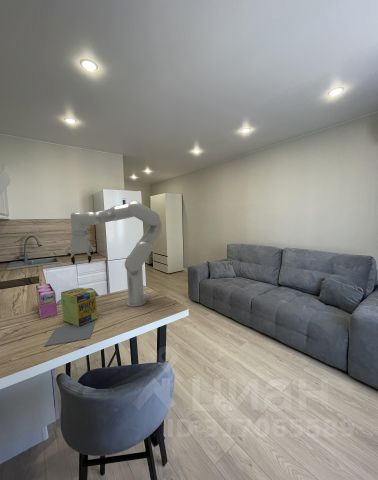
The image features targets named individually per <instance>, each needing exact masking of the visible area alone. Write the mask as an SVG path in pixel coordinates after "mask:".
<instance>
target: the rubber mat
mask: <svg viewBox="0 0 378 480" xmlns="http://www.w3.org/2000/svg"><path fill="white" fill-rule="evenodd" d="M95 323H96V321H91V322H88V323H86V324H84V325H81V326H76V325H74V324H71V325H70V324H69V325H65V326H59V327H58V326H57V327H55V328H54V330H53V332H52V333H51V335H50V336H49V337H48V339H47V341H46V343H45V344H44V346H43V347H44V348H46V347H52V346H57V345H61V344H69V343H73V342H80V341H83V340H84V341H85V340H89V339H91V337H92V334H93V332H94V326H95Z"/></svg>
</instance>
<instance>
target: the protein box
mask: <svg viewBox="0 0 378 480" xmlns="http://www.w3.org/2000/svg"><path fill="white" fill-rule="evenodd" d="M96 297H97V296H96V291H95V290H92V289H89V288H84V287H76V288H73V289H69V290H65V291H61V292H60V298H61V299H60V301H61V309H62V310H61V311H62V320H63V321H64V322H67V323H69V324H71V325H76V326H81V325H84V324H86V323H89V322H94V321H95V320H97V319H98V311H97V299H96Z"/></svg>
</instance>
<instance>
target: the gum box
mask: <svg viewBox="0 0 378 480" xmlns="http://www.w3.org/2000/svg"><path fill="white" fill-rule="evenodd" d="M35 291H36V292H35V293H36V299H37V300H36V301H37V308H38V313H39V315H40V319H41V318H43V319H46V318H45V317H47V318H50V317H49V316H51V317H54V316H57V315H58V308H57V296H56V295H57V294H56V292H55V290H54V288H53V286H52V285H51V283H47V284H45V285H44V284H43V285H40V286H39V285H36V286H35ZM56 314H57V315H56ZM53 315H54V316H53Z"/></svg>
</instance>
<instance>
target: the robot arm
mask: <svg viewBox="0 0 378 480" xmlns="http://www.w3.org/2000/svg"><path fill="white" fill-rule="evenodd" d="M134 217H135V218H136V219H138V220H140V221H141V222H143V223H144V224H147V228H146V230H145V232H144V234H143V235H142V236H141V238H140V239H139V241H137V242H136V244H135V246H134V248H133V249H132V250H131V252H130V253H129V255H128V256H127V257H126V259H125V261H124V268H125V270H126V281H127V297H128V299H127V300H126V301H125V302H126V303H125V305H126V306H128V307H134V308H135V307H141V306H143V305H145V304H146V303H147V300H151V299H152V295H149V294H146V295H145V293H144V292H145V291H144V279H143V278H144V277H143V265H144V264H145V262H146V261H147V259H148V258H149V257H150V254H151V253H152V250H153V246H154V245H155V243H156V242H157V240H158V238H159V236H161V235H160V234H161V232H162V221H161V217H160V214H159V213H158V212H157V211H155V210H152V208H149V207H148V206H146V205H144V204H142V203H141V202H139V201H137V200H134V201H131V202H128V203H125V204H119V205H114V206H111V207H110V208H108V209H105V210H100V211H95V212H94V211H86V212H72V213H70V225H71V236H70V247H68V248H66V249H65V250H64V253H66V255H67V256H69V257H70V261H71V263H72V265H75V264H76V260H75V259H76V257H75V254H85V253H86V254H87V255H88V256H87V262H88V264H90V263H91V262H92V255H93V254H94V253H95V252H96V250H97V249H96V248H95V247H93V246H92V245H91V243H90V242H91V241H90V238H89V234H90V231H88V230H87V225H89V226H93V225H94V226H95V225H99V224H105V223H108V222H117V221H121V220H126V219H129V218H134ZM91 250H92V251H91Z"/></svg>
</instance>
